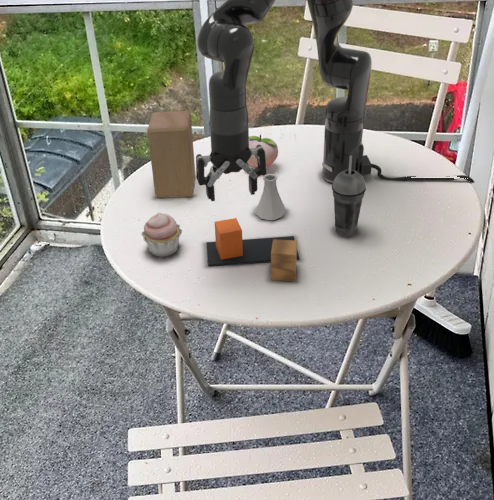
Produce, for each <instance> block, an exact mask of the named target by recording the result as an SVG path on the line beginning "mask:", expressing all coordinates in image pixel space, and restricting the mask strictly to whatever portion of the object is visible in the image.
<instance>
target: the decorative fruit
mask: <svg viewBox="0 0 494 500" xmlns="http://www.w3.org/2000/svg"><path fill="white" fill-rule="evenodd" d="M257 145H261V146H262V147H263V149H264V151H265V159H266V168H268V167H271V166H272V165H273V164H274V163H275V161H276V160H277V158H278V155H279V148H278V147H279V146H278V145H277V143H276V141H274V140H273V139H272V138H269V137H262V134H260V135H259V136H256V135H249V149H252V148H256V146H257ZM248 163H249V165H250V166H251V167H252V168H258V166H257V158H255V157H254V155H251V157H250V159H249V160H248Z"/></svg>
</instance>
